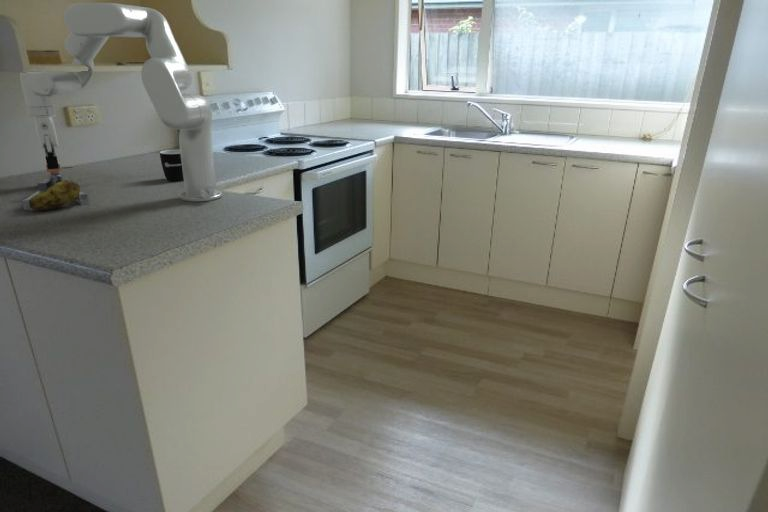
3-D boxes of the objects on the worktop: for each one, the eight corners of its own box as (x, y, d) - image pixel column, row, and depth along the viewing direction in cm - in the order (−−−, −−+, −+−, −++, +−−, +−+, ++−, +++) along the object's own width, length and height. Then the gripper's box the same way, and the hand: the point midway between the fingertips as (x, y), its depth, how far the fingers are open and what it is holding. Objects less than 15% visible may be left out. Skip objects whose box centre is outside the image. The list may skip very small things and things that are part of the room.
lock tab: (61, 170, 177) (59, 163, 176) (47, 172, 175) (45, 164, 174) (60, 169, 180) (59, 162, 179) (47, 170, 178) (45, 163, 177)
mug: (161, 182, 185) (157, 154, 181) (166, 177, 193) (162, 149, 189) (196, 181, 187) (193, 153, 183) (199, 176, 195) (196, 149, 192)
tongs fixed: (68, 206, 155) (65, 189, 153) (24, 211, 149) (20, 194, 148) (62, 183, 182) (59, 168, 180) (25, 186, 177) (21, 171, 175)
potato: (36, 206, 154) (30, 179, 152) (85, 203, 158) (80, 177, 155) (28, 214, 147) (22, 186, 144) (80, 210, 151) (74, 183, 148)
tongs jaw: (56, 191, 171) (53, 176, 169) (64, 190, 172) (61, 175, 171) (81, 205, 156) (78, 188, 155) (89, 203, 158) (86, 187, 156)
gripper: (55, 113, 164) (67, 171, 171) (54, 109, 176) (65, 163, 182) (27, 114, 160) (40, 173, 167) (27, 110, 172) (39, 165, 179)
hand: (53, 168), depth 175 cm, fingers closed
